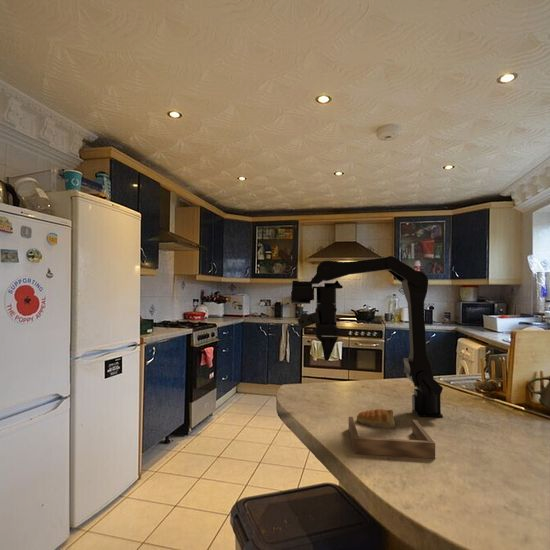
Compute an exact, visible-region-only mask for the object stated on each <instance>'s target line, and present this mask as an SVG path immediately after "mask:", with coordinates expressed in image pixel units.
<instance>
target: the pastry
mask: <svg viewBox="0 0 550 550" xmlns="http://www.w3.org/2000/svg"><path fill="white" fill-rule="evenodd" d="M356 420H357V421H358V423H360V424H363V425H367V426H371V427H374V428H375V427H377V428H384V429H394V428H395V418H394V411H393V410H392V409H389V410H388V409H383V408H376V409H370V410H369V409H368V410H366V411H361V412H358V414H357V415H356Z"/></svg>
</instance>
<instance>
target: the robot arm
mask: <svg viewBox="0 0 550 550" xmlns="http://www.w3.org/2000/svg"><path fill="white" fill-rule="evenodd" d="M383 271H387V272H389V274H391V275H392V277H394V278H395V279H396V280H397V281H399V282H400V283H401V287H402V290H403V295H404V297H405V300H406V303H407V311H408V312H407V315H408V316H407V318H408V332H409V333H408V335H409V355H408V358H406V357H403V364H404V369H403V372H404V373H405V374H406V377H407V379H409V381H411V383H413V386H414V387H415V388H414V389H413V394H412V395H411V403H412V405H411V407H412V408H411V409H412V410H413V411H414V412H415V414H416V415H417V416H419V417H428V418H429V417H433V418H443V417H444V415H443V414H442V412H441V411H442V410H441V407H442V405H441V396H442V393H443V389H444V388H443V386H441V384H440V383H439V382H438V381H437V380H436V379H434V378H435V377H434V373H433V368H432V364H431V361H430V359H429V357H428V354H427V338H426V337H427V336H426V335H427V334H426V319H425V300H426V297H427V294H428V287H429V278H428V276H427V274H426V273H425V272H423V271H421V270H416V269H414V268H413V267H411V266H410V265H408V264H406V263H404V262H403V261H401V260H400V259H398V258H397V257H396V256H394V255H388V256H387V257H386V256H385V257H378V258H370V259H369V258H368V259H362V260H353V261H339V260H338V261H337V260H323V261H321V262H320V263H318V265H317V267H316V274H315V275H314V276H313V277H312V278H311V280H309V281H308V280H307V281H306V280H305V281H303V280H302V281H301V280H300V281H299V280H292V281H291V283H292V286H291V291H290V292H291V293H290V303H291V304H294V305H295V304H299V305H300V304H302V305H303V304H304V305H305V304H308V305H309V304H311V302H312V301H315V289H316V308H315V312H314V311H313V312H311V313H307V312H304V313H301V314H300V317H298V318H297V319H296V321H297V322H298V327H299V328H300V330H303V329H305V328H306V327H309V326H311V325H314V324H315V338H317V340H319V341H320V342H321V348H322V354H323V357H324V359H323V360H324V361H326V362H329V360H330V359H331V356H332V354H333V353H332V352H333V350H334V348H335V346H336V343H337V341H338V338H339V336H340V335H339V333H340V332H339V331H340V329H339V327H338V326H337V325H338V324H337V323H338V322H337V310H338V309H337V289H343V287H344V286H343V285H342V284H341V283H339V281H338V280H336V279H340V278H343V277H346V276H349V275H357V274H366V273H375V272H383ZM333 280H335V282H331V281H333ZM329 281H330V282H329ZM322 282H324V283H323V284H324V286H322V285H321V286H316V285H319V284H321V283H322ZM313 285H315V286H313Z"/></svg>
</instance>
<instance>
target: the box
mask: <svg viewBox="0 0 550 550" xmlns="http://www.w3.org/2000/svg"><path fill="white" fill-rule="evenodd" d="M354 420H355V419H354V417H353V416H348V432H349V436H350V442H351V446H352V450H353V452H354V454H358V455H359V454H360V455H373V456H374V455H375V456H378V455H379V456H390V457H391V456H393V457H407V458H410V457H411V458H422V459H423V458H424V459H436V443H435V441H434V440H433V439H432V437H431V436H430V434H428V432H427V431H426V430H425V428H424V427H423V426H422V425H421V424H420V422H419V421H418V420H417V419H412V420H411V423H412V424H411V426H412V427H411V428H412V430H411V432H412V435H413V436H414V437H415V439H404V438H403V439H401V438H388V437H387V438H386V437H385V438H382V437H370V436H369V437H367V436H359V434H358V430H357V426H356V424H355V421H354Z"/></svg>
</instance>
